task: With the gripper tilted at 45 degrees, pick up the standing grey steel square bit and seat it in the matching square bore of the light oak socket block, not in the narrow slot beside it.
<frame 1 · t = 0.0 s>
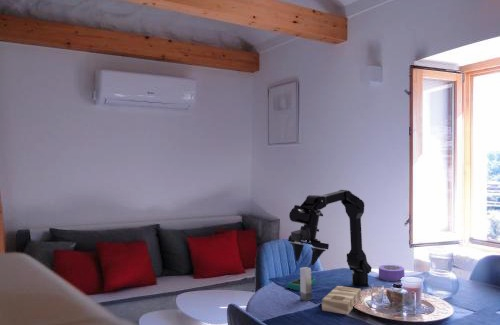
hand: (304, 262, 173), 15 cm above the table, tool pointing down, fingers open, 9 cm apart
digital multimeter: (301, 287, 194), on the table
square bit: (306, 299, 175), on the table
socket block: (342, 304, 168), on the table
tape roll: (391, 278, 204), on the table
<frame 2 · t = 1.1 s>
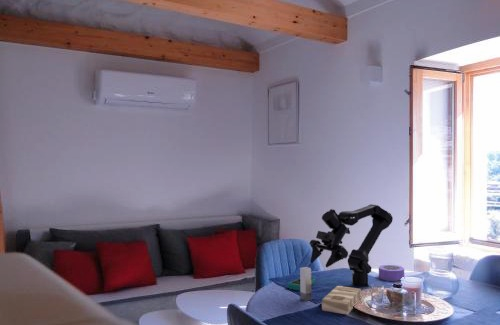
hand: (318, 264, 179), 13 cm above the table, tool tilted 45°, fingers open, 9 cm apart
nothing on the table moved.
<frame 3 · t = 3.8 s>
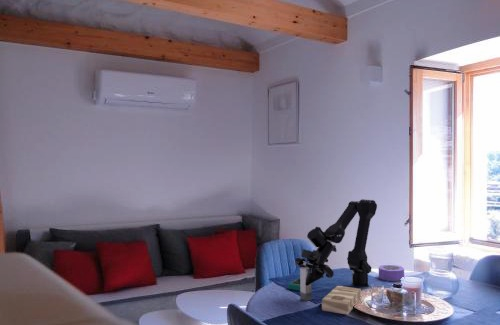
hand: (303, 284, 174), 7 cm above the table, tool tilted 45°, fingers closed on square bit, 3 cm apart
square bit: (306, 299, 175), on the table, touching gripper
everything else where it was.
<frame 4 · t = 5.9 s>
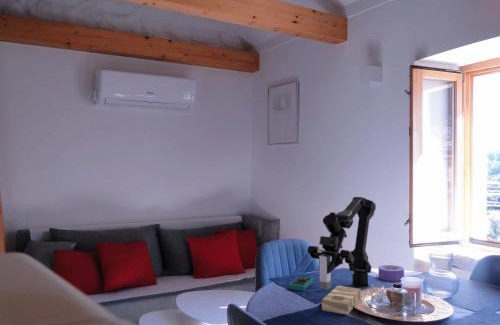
hand: (323, 272, 166), 13 cm above the table, tool tilted 45°, fingers closed on square bit, 3 cm apart
square bit: (325, 288, 167), point 7 cm above the table, touching gripper
everything else where it was.
when the fingers open (9 cm above the table, at t = 7.9 s): square bit drops 3 cm, resting in socket block.
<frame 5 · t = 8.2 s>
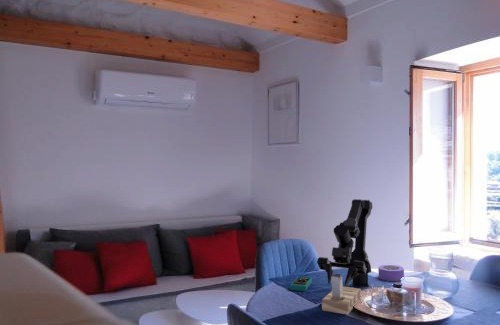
hand: (337, 284, 162), 10 cm above the table, tool tilted 45°, fingers open, 6 cm apart
square bit: (338, 307, 164), resting in socket block, tilted 5°
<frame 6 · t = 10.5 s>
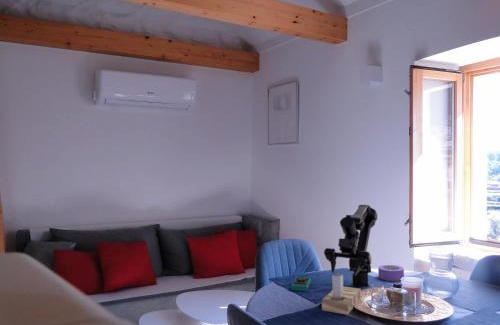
hand: (343, 273, 170), 12 cm above the table, tool tilted 45°, fingers open, 9 cm apart
square bit: (338, 308, 164), resting in socket block
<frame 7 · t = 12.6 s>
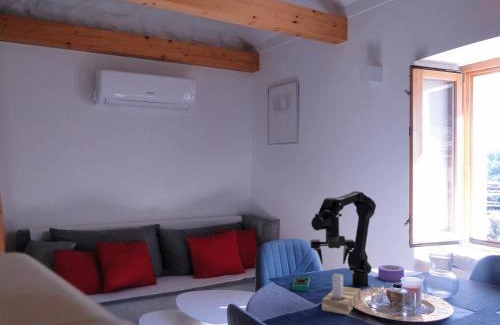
hand: (332, 263, 181), 13 cm above the table, tool pointing down, fingers open, 9 cm apart
at the end: square bit 0.1 cm from the target spot, resting in socket block; square bit tilted 0°; the gripper is holding nothing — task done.
